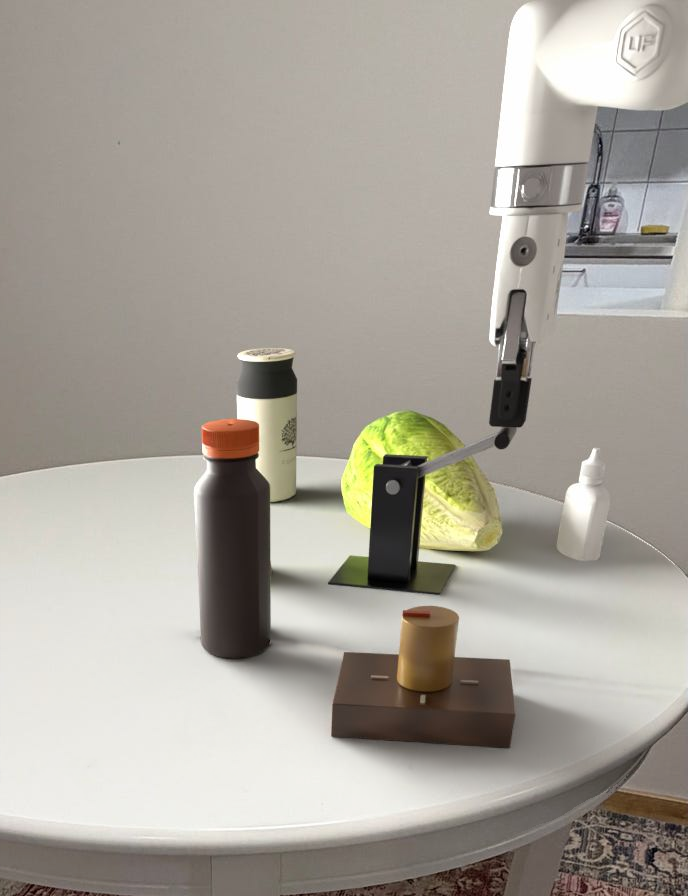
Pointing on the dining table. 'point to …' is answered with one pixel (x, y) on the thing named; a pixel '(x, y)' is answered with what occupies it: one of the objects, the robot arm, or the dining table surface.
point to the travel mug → (271, 414)
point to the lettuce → (426, 483)
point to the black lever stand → (395, 535)
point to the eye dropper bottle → (585, 512)
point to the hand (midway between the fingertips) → (506, 424)
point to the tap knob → (427, 648)
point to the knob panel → (424, 703)
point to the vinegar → (233, 542)
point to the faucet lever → (467, 451)
